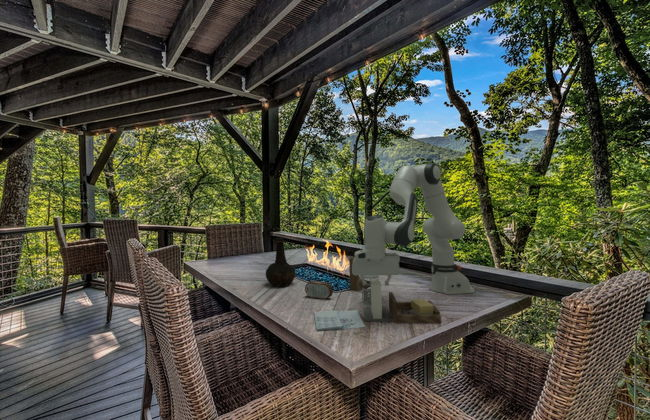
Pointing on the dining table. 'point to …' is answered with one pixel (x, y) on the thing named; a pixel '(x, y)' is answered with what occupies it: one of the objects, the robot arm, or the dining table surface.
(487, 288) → the dining table surface
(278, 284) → the dark brown vase
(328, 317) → the light flat printed piece
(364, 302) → the french press
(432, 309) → the offcut upper
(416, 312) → the offcut lower
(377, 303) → the pale grey rectangular block
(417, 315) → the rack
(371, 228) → the robot arm
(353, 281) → the wooden block
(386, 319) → the pad
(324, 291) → the tin
